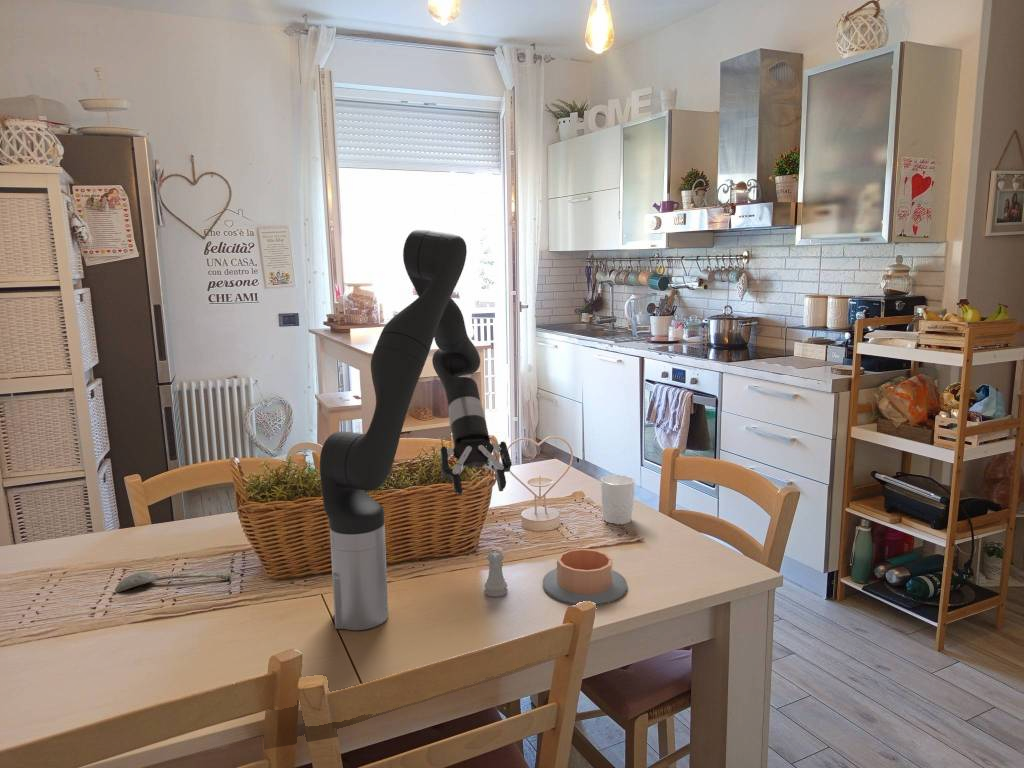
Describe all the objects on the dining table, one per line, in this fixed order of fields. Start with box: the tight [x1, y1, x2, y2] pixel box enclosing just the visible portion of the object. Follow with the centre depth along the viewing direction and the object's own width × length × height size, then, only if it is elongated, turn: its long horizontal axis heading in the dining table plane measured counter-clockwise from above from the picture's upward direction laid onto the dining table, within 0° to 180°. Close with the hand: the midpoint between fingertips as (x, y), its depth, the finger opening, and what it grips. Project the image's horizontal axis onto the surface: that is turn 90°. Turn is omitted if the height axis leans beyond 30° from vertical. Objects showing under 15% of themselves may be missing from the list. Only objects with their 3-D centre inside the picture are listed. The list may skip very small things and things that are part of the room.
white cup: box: [600, 474, 635, 525], centre depth 173 cm, size 8×8×10 cm
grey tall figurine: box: [483, 549, 509, 598], centre depth 136 cm, size 4×4×8 cm
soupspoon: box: [114, 571, 234, 593], centre depth 142 cm, size 22×3×7 cm
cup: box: [542, 548, 628, 606], centre depth 138 cm, size 16×16×5 cm
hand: (481, 491), depth 145 cm, fingers open, 8 cm apart
